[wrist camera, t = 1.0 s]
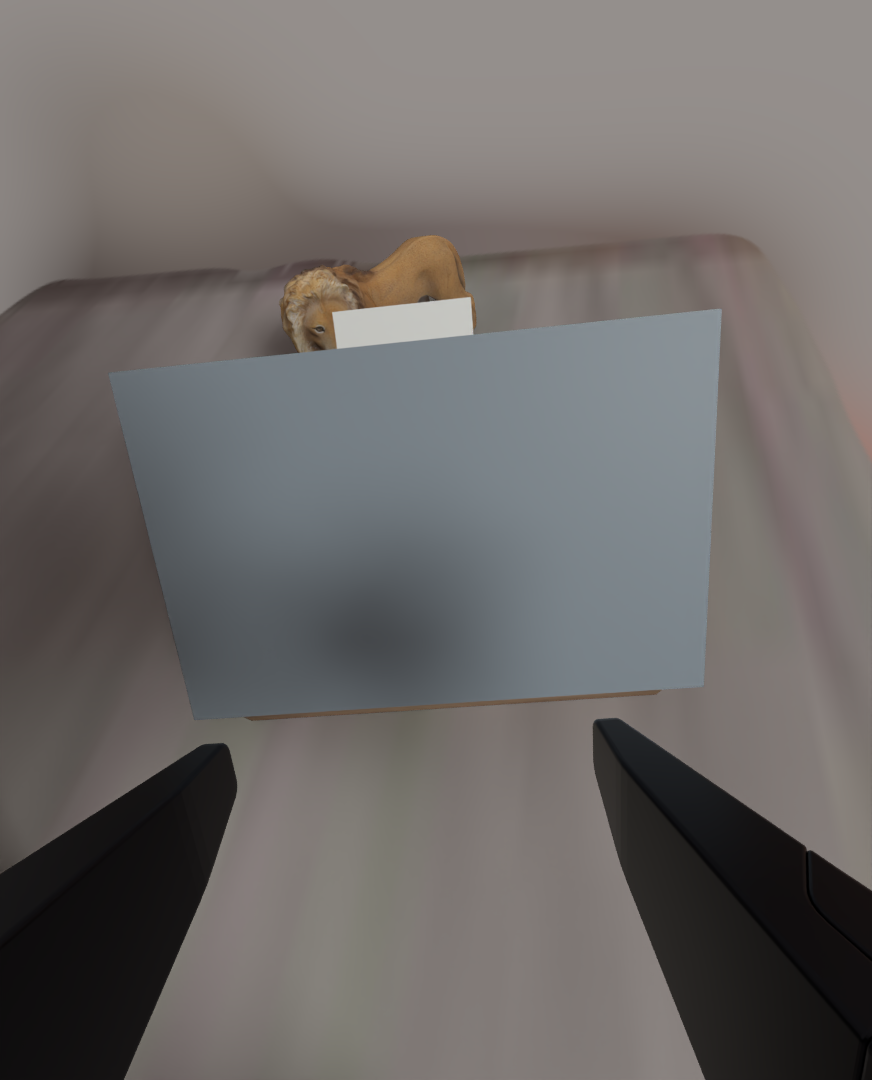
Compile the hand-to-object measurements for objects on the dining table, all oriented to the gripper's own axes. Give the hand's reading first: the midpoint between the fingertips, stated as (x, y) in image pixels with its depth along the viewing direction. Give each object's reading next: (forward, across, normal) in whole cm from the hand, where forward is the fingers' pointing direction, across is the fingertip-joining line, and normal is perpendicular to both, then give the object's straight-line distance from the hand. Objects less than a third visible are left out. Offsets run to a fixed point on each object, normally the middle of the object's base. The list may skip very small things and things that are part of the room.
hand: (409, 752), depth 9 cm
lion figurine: (+28, +2, -8) cm, 29 cm away
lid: (+9, 0, -2) cm, 10 cm away
